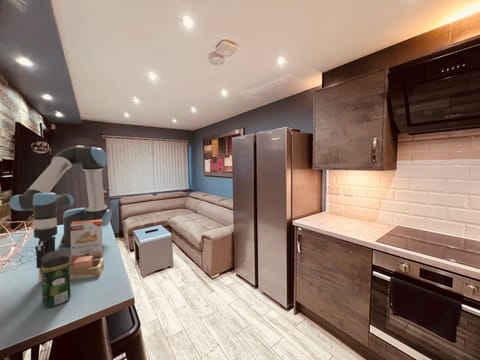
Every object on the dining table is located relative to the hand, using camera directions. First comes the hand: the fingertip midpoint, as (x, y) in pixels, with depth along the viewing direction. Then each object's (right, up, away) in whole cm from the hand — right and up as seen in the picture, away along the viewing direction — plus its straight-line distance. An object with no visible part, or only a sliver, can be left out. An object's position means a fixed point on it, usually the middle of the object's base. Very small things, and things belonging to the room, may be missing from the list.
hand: (46, 277), depth 90 cm
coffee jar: (+17, -2, -14) cm, 22 cm away
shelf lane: (+11, -1, +5) cm, 13 cm away
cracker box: (+1, 0, +23) cm, 23 cm away
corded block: (+6, -1, +3) cm, 7 cm away
